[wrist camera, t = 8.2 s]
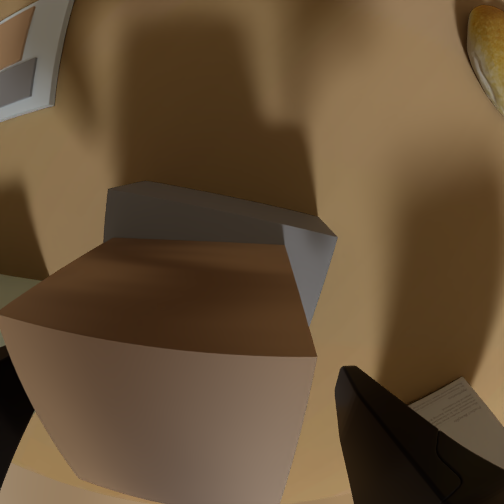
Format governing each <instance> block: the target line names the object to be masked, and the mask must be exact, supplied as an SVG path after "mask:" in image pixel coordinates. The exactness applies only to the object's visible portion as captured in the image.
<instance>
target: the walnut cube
mask: <svg viewBox="0 0 504 504" xmlns="http://www.w3.org/2000/svg"><path fill="white" fill-rule="evenodd" d="M0 331H1V334H2V336H3V339H4V342H5V345H6V347H7V350H8V353H9V355H10V358H11V360H12V363H13V365H14V367H15V370H16V372H17V374H18V377H19V379H20V381H21V383H22V385H23V388H24V390H25V392H26V394H27V396H28V398H29V400H30V402H31V404H32V406H33V408H34V409H35V411H36V413H37V415H38V417H39V419H40V420H41V422H42V424H43V426H44V427H45V429H46V431H47V432H48V434H49V436H50V437H51V439H52V441H53V442H54V444H55V445H56V447H57V448H58V450H59V451H60V453H61V454H62V456H63V457H64V459H65V460H66V462H67V463H68V465H69V466H70V467H71V469H72V470H73V472H74V473H75V474H76V476H77V477H78V478H79V479H81V480H84V481H87V482H89V483H92V484H95V485H98V486H101V487H104V488H107V489H110V490H113V491H116V492H120V493H123V494H127V495H130V496H134V497H138V498H142V499H146V500H150V501H155V502H159V503H164V504H280V501H281V498H282V495H283V492H284V489H285V485H286V482H287V479H288V475H289V472H290V469H291V465H292V462H293V458H294V454H295V451H296V447H297V443H298V439H299V436H300V432H301V428H302V424H303V420H304V415H305V411H306V407H307V403H308V398H309V394H310V389H311V385H312V380H313V375H314V370H315V365H316V360H317V355H316V351H315V347H314V344H313V340H312V336H311V333H310V329H309V326H308V322H307V319H306V315H305V312H304V308H303V305H302V301H301V298H300V294H299V291H298V287H297V284H296V281H295V277H294V274H293V270H292V267H291V264H290V261H289V257H288V254H287V251H286V247H285V245H275V244H255V243H233V242H211V241H187V240H163V239H138V238H112V239H110V240H108V241H106V242H105V243H103V244H101V245H99V246H98V247H96V248H94V249H93V250H91V251H89V252H88V253H86V254H84V255H83V256H81V257H79V258H78V259H76V260H74V261H73V262H71V263H69V264H68V265H66V266H65V267H63V268H61V269H60V270H58V271H57V272H55V273H54V274H52V275H50V276H49V277H47V278H46V279H44V280H43V281H41V282H40V283H38V284H37V285H35V286H34V287H32V288H31V289H29V290H28V291H26V292H25V293H23V294H22V295H20V296H19V297H17V298H16V299H15V300H13V301H12V302H10V303H9V304H7V305H6V306H5V307H3V308H2V309H0Z"/></svg>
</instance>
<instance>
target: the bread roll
mask: <svg viewBox="0 0 504 504" xmlns="http://www.w3.org/2000/svg"><path fill="white" fill-rule="evenodd" d="M467 32H468V35H467V52H468V55H469V58H470V62H471V65H472V68H473V70H474V72H475V74H476V76H477V78H478V80H479V82H480V84H481V86H482V88H483V90H484V91H485V93H486V95H487V96H488V97H489V99H490V100H491V101H492V103H493V104H494V105H495V107H496V108H497V109H498V111H499V112H500V113H501V114H502V116H503V117H504V11H502V10H500V9H498V8H496V7H493V6H489V5H480V6H477V7H475V8H474V9H473V10H472V11H471V13H470V15H469V20H468V31H467Z"/></svg>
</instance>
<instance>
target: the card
mask: <svg viewBox="0 0 504 504" xmlns="http://www.w3.org/2000/svg"><path fill="white" fill-rule="evenodd" d="M73 3H74V0H39V1H37V2H35V3H33V4H31V5H29V6H27V7H25V8H23V9H21V10H20V11H18V12H16V13H14V14H13V15H11V16H9V17H7V18H6V19H4V20H2V21H1V22H0V122H2V121H5V120H8V119H11V118H14V117H17V116H20V115H23V114H26V113H30V112H33V111H37V110H40V109H44V108H47V107H51V106H54V103H55V94H56V86H57V78H58V71H59V65H60V59H61V54H62V48H63V43H64V39H65V34H66V30H67V26H68V22H69V18H70V14H71V10H72V7H73Z"/></svg>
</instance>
